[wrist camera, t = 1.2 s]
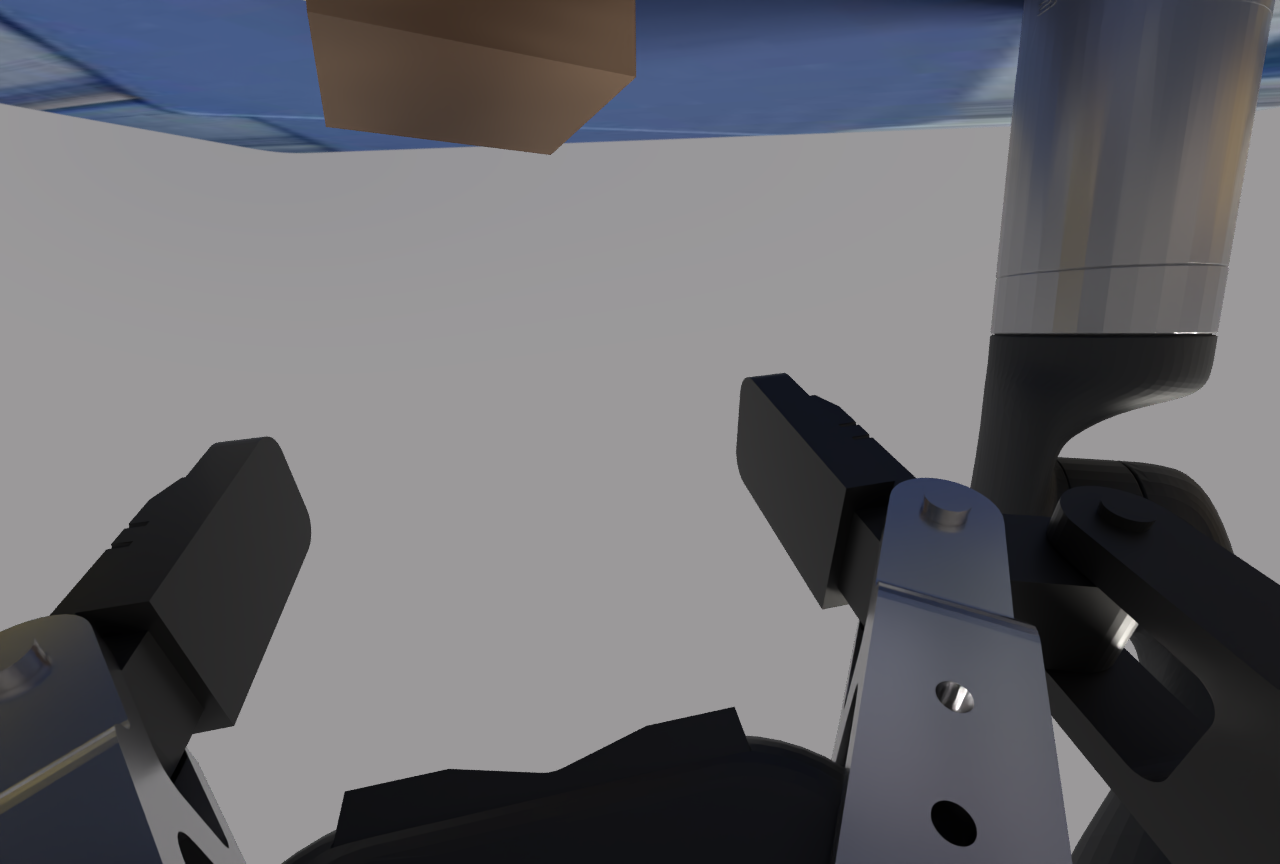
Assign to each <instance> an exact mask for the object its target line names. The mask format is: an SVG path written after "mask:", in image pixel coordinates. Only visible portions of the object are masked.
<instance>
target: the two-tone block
mask: <svg viewBox="0 0 1280 864" xmlns="http://www.w3.org/2000/svg"><path fill="white" fill-rule="evenodd" d="M306 5H307V13H308V19H309V25H310V32H311V38H312V44H313V50H314V56H315V62H316V68H317V75H318V81H319V87H320V93H321V99H322V105H323V111H324V117H325V124H326V127H332V128H340V129H348V130H356V131H364V132H372V133H380V134H388V135H396V136H404V137H412V138H420V139H428V140H436V141H444V142H452V143H460V144H468V145H476V146H484V147H493V148H500V149H508V150H516V151H524V152H532V153H540V154H548V155H551V154H552V153H553V152H554V151H556V150H557V149H558V148H559V147H560V146H561V145H562V144H563V143H564V142H565V141H567V140H568V139H569V138H570V137H571V136H572V135H573V134H574V133H575V132H576V131H577V130H579V129H580V128H581V127H582V126H583V125H584V124H585V123H586V122H587V121H588V120H589V119H591V118H592V117H593V116H594V115H595V114H596V113H597V112H598V111H599V110H600V109H601V108H603V107H604V106H605V105H606V104H607V103H608V102H609V101H610V100H611V99H612V98H614V97H615V96H616V95H617V94H618V93H619V92H620V91H621V90H622V89H623V88H624V87H626V86H627V85H628V84H629V83H630V82H631V81H632V80H633V79H634V78H635V77H636V25H635V0H306Z"/></svg>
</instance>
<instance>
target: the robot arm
mask: <svg viewBox="0 0 1280 864" xmlns="http://www.w3.org/2000/svg"><path fill="white" fill-rule="evenodd" d="M1274 4H1275V0H1024V7H1023V17H1022V27H1021V37H1020V47H1019V57H1018V67H1017V74H1016V83H1015V93H1014V103H1013V113H1012V123H1011V133H1010V143H1009V153H1008V163H1007V173H1006V183H1005V193H1004V203H1003V213H1002V223H1001V233H1000V243H999V253H998V263H997V273H996V278H997V279H996V285H995V295H994V305H993V316H992V325H991V333H994V334H995V335H992V336H990V346H989V356H988V366H987V374H986V381H985V389H984V397H983V406H982V416H981V424H980V425H981V426H980V432H979V439H978V446H977V453H976V458H975V464H974V470H973V476H972V481H971V487H970V488H969V487H966V486H964V485H961V484H958V483H955V482H951V481H947V480H942V479H935V478H915V477H914V476H913V475H912V474H911V473H910V472H909V471H908V470H907V469H906V468H905V467H903V466H902V465H901V464H900V463H899V462H898V461H897V460H896V459H895V458H894V457H893V456H892V455H890V453H888V452H887V451H886V450H885V449H884V448H883V447H882V446H881V445H880V444H879V443H878V442H877V441H876V440H874V438H869V434H868V433H867V432H866V431H865V430H864V429H863V428H862V427H861V426H860V425H856V422H855V421H854V420H853V419H852V418H851V417H850V416H849V415H848V414H846V412H844V411H843V410H842V409H841V408H840V407H839V406H837V405H835V404H833V403H831V402H829V401H827V400H824V399H822V398H820V397H818V396H816V395H812V396H809V395H808V394H807V393H806V392H805V391H804V390H803V389H802V388H801V387H800V386H799V385H798V384H797V383H796V382H795V381H794V380H793V379H792V378H791V377H790V376H789V375H788V374H786V373H781V374H772V375H765V376H755V377H747V378H745V379H744V381H743V382H742V385H741V391H740V405H739V420H738V434H737V447H736V448H737V449H736V454H737V464H738V469H739V472H740V475H741V478H742V480H743V482H744V484H745V485H746V487H747V489H748V490H749V492H750V493H751V495H752V496H753V498H754V500H755V502H756V503H757V505H758V506H759V508H760V510H761V511H762V513H763V514H764V516H765V518H766V519H767V521H768V522H769V524H770V526H771V527H772V529H773V531H774V532H775V534H776V535H777V537H778V539H779V540H780V542H781V543H782V545H783V547H784V548H785V550H786V552H787V553H788V555H789V556H790V558H791V560H792V561H793V563H794V564H795V566H796V568H797V569H798V571H799V573H800V574H801V576H802V577H803V579H804V581H805V582H806V584H807V586H808V587H809V589H810V590H811V592H812V593H813V595H814V597H815V598H816V600H817V602H818V603H819V605H820V606H821V608H822V609H826V608H831V607H837V606H842V605H847V604H849V605H850V606H851V608H852V609H853V611H854V612H855V614H856V615H857V617H858V618H859V622H858V626H857V630H856V635H855V641H854V646H853V651H852V657H851V662H850V668H849V673H848V678H847V684H846V689H845V694H844V700H843V705H842V711H841V716H840V722H839V727H838V731H837V737H836V741H835V746H834V750H833V754H832V759H831V760H830V759H828V758H826V757H825V756H822V755H820V754H817V753H815V752H813V751H810V750H808V749H806V748H803V747H800V746H797V745H794V744H790V743H787V742H783V741H780V740H774V739H769V738H763V737H754V736H745V734H744V731H743V728H742V725H741V723H740V720H739V717H738V715H737V712H736V710H735V707H732V708H727V709H722V710H718V711H713V712H708V713H704V714H700V715H695V716H690V717H686V718H681V719H676V720H672V721H667V722H663V723H658V724H653V725H649V726H645V727H644V728H642V729H639V730H638V731H635V732H633V733H632V734H630V735H628V736H626V737H624V738H622V739H620V740H618V741H616V742H614V743H612V744H610V745H608V746H606V747H604V748H602V749H600V750H598V751H596V752H594V753H592V754H590V755H588V756H586V757H584V758H582V759H580V760H578V761H576V762H574V763H572V764H570V765H568V766H566V767H564V768H562V769H559V770H557V771H554V772H549V773H530V772H506V771H483V770H460V769H447V770H442V771H438V772H433V773H428V774H424V775H419V776H414V777H410V778H405V779H401V780H396V781H391V782H387V783H382V784H378V785H373V786H368V787H364V788H360V789H355V790H350V791H345V793H344V798H343V802H342V807H341V811H340V816H339V820H338V825H337V829H336V830H335V831H333V832H331V833H329V834H327V835H325V836H323V837H321V838H320V839H318V840H317V841H315V842H313V843H311V844H310V845H308V846H307V847H305V848H303V849H302V850H300V851H298V852H297V853H295V854H294V855H293V856H291V857H290V858H289V859H287V860H286V861H284V862H283V863H282V864H1280V585H1279V584H1277V583H1276V582H1274V581H1273V580H1271V579H1270V578H1268V577H1267V576H1265V575H1264V574H1262V573H1261V572H1259V571H1258V570H1257V569H1255V568H1254V567H1252V566H1250V565H1249V564H1248V563H1246V562H1245V561H1243V560H1241V559H1240V558H1239V557H1237V556H1236V555H1234V553H1233V550H1232V548H1231V544H1230V541H1229V538H1228V536H1227V533H1226V530H1225V528H1224V525H1223V523H1222V521H1221V519H1220V517H1219V515H1218V512H1217V510H1216V509H1215V507H1214V505H1213V504H1212V502H1211V500H1210V498H1209V497H1208V496H1207V494H1206V493H1205V492H1204V491H1203V489H1202V488H1201V487H1200V486H1199V485H1198V484H1197V483H1196V482H1195V481H1194V480H1193V479H1191V478H1190V477H1189V476H1187V475H1186V474H1184V473H1183V472H1181V471H1178V470H1176V469H1172V468H1168V467H1164V466H1159V465H1154V464H1148V463H1140V462H1126V461H1113V460H1112V461H1111V460H1095V459H1080V458H1062V457H1058V455H1059V453H1060V451H1061V449H1062V448H1063V446H1064V445H1065V444H1066V443H1067V442H1068V441H1069V440H1070V439H1071V438H1072V437H1074V436H1075V435H1077V434H1078V433H1080V432H1082V431H1083V430H1085V429H1087V428H1089V427H1091V426H1093V425H1094V424H1096V423H1099V422H1101V421H1103V420H1105V419H1108V418H1111V417H1113V416H1115V415H1118V414H1121V413H1124V412H1128V411H1131V410H1134V409H1138V408H1142V407H1145V406H1150V405H1154V404H1158V403H1162V402H1166V401H1170V400H1174V399H1178V398H1182V397H1184V396H1187V395H1190V394H1192V393H1194V392H1196V391H1197V390H1199V389H1200V388H1202V387H1203V385H1204V384H1205V383H1206V381H1207V380H1208V378H1209V376H1210V373H1211V369H1212V366H1213V361H1214V355H1215V349H1216V343H1217V336H1216V335H1212V333H1217V332H1218V328H1219V322H1220V316H1221V310H1222V304H1223V298H1224V293H1225V287H1226V281H1227V275H1228V266H1229V261H1230V255H1231V249H1232V244H1233V238H1234V232H1235V226H1236V220H1237V215H1238V209H1239V203H1240V197H1241V191H1242V186H1243V180H1244V174H1245V168H1246V162H1247V157H1248V150H1249V145H1250V139H1251V134H1252V128H1253V122H1254V116H1255V111H1256V105H1257V99H1258V93H1259V88H1260V82H1261V76H1262V70H1263V64H1264V59H1265V53H1266V47H1267V41H1268V36H1269V30H1270V24H1271V19H1272V16H1273V10H1274ZM310 541H311V524H310V518H309V514H308V512H307V509H306V506H305V504H304V502H303V499H302V497H301V495H300V492H299V490H298V488H297V485H296V483H295V481H294V478H293V476H292V473H291V471H290V469H289V466H288V464H287V461H286V459H285V457H284V454H283V452H282V450H281V448H280V446H279V445H278V443H277V442H276V441H275V440H274V439H273V438H271V437H260V438H251V439H243V440H236V441H235V440H234V441H226V442H218V443H215V444H213V445H212V446H211V447H210V448H209V449H208V451H207V452H206V453H205V454H204V455H203V456H202V458H201V459H200V460H199V462H198V463H197V464H196V465H195V466H194V467H193V469H192V470H191V471H190V473H189V474H188V475H187V476H186V477H184V478H181V479H179V480H178V481H176V482H175V483H173V484H172V485H171V486H169V487H167V488H166V489H165V490H163V491H162V492H160V493H159V494H157V495H156V496H154V497H153V498H151V499H150V500H149V501H148V502H147V503H146V504H145V506H144V507H143V508H142V509H141V510H140V511H139V512H138V514H137V515H136V516H135V517H134V518H133V520H132V521H131V522H130V523H129V528H127V529H124V530H123V531H122V532H121V533H120V535H119V536H118V537H117V538H116V539H115V541H114V542H113V543H112V544H111V545H112V549H108V550H106V551H105V552H104V553H103V554H102V555H101V557H100V558H99V559H98V560H97V561H96V562H95V564H94V565H93V566H92V567H91V568H90V569H89V570H88V572H87V573H86V574H85V575H84V576H83V578H82V579H81V580H80V581H79V582H78V583H77V584H76V586H75V587H74V588H73V589H72V590H71V592H70V593H69V594H68V595H67V596H66V597H65V598H64V600H63V601H62V602H61V603H60V604H59V605H58V606H57V608H56V609H55V610H54V611H53V612H52V613H51V615H50V616H47V617H41V618H38V619H34V620H31V621H27V622H24V623H21V624H18V625H16V626H13V627H11V628H9V629H6V630H4V631H1V632H0V864H246V862H245V860H244V858H243V856H242V854H241V852H240V850H239V848H238V846H237V843H236V841H235V839H234V837H233V835H232V833H231V831H230V829H229V827H228V824H227V822H226V820H225V818H224V816H223V814H222V812H221V810H220V808H219V806H218V804H217V801H216V799H215V797H214V795H213V793H212V791H211V789H210V787H209V785H208V783H207V780H206V778H205V776H204V774H203V772H202V770H201V768H200V766H199V764H198V762H197V761H196V759H195V758H194V756H193V755H192V754H191V753H190V752H189V750H188V749H187V748H186V746H187V744H188V742H189V740H190V738H191V736H192V734H195V733H200V732H205V731H211V730H216V729H220V728H226V727H231V726H234V725H235V722H236V720H237V718H238V715H239V713H240V710H241V708H242V706H243V703H244V701H245V699H246V696H247V693H248V691H249V689H250V687H251V684H252V682H253V679H254V677H255V675H256V673H257V670H258V668H259V665H260V663H261V661H262V658H263V656H264V654H265V651H266V649H267V646H268V644H269V642H270V639H271V637H272V635H273V632H274V630H275V627H276V625H277V623H278V620H279V618H280V616H281V613H282V611H283V609H284V606H285V603H286V601H287V599H288V596H289V594H290V592H291V589H292V587H293V585H294V582H295V580H296V578H297V575H298V573H299V571H300V568H301V565H302V563H303V561H304V559H305V556H306V554H307V552H308V549H309V545H310ZM1129 639H1130V640H1131V641H1132V643H1133V645H1134V647H1135V649H1136V652H1137V655H1138V659H1139V662H1140V663H1139V662H1138V661H1137V660H1136V659H1135V658H1134V657H1133V656H1132V655H1131V654H1130V653H1129V652H1128V651H1127V650H1126V649H1125V648H1124V647H1125V645H1126V643H1127V642H1128V640H1129ZM1051 716H1052V717H1053V718H1054V719H1055V720H1056V722H1057V723H1058V724H1059V725H1060V727H1061V728H1062V729H1063V730H1064V732H1065V733H1066V734H1067V735H1068V736H1069V738H1070V739H1071V740H1072V741H1073V743H1074V744H1075V745H1076V746H1077V748H1078V749H1079V750H1080V751H1081V752H1082V754H1083V755H1084V756H1085V757H1086V759H1087V760H1088V761H1089V762H1090V763H1091V765H1092V766H1093V767H1094V768H1095V770H1096V771H1097V772H1098V773H1099V774H1100V776H1101V777H1102V778H1103V779H1104V781H1105V782H1106V783H1107V784H1108V786H1109V787H1110V788H1111V791H1110V792H1109V793H1108V795H1107V797H1106V798H1105V800H1104V801H1103V803H1102V805H1101V806H1100V808H1099V809H1098V811H1097V813H1096V814H1095V816H1094V817H1093V819H1092V821H1091V822H1090V824H1089V825H1088V827H1087V829H1086V830H1085V832H1084V834H1083V835H1082V837H1081V839H1080V840H1079V842H1078V844H1077V846H1076V847H1075V849H1074V851H1073V853H1072V855H1071V851H1070V843H1069V837H1068V830H1067V822H1066V816H1065V808H1064V801H1063V794H1062V788H1061V781H1060V774H1059V768H1058V760H1057V753H1056V746H1055V739H1054V732H1053V725H1052V718H1051Z"/></svg>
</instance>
